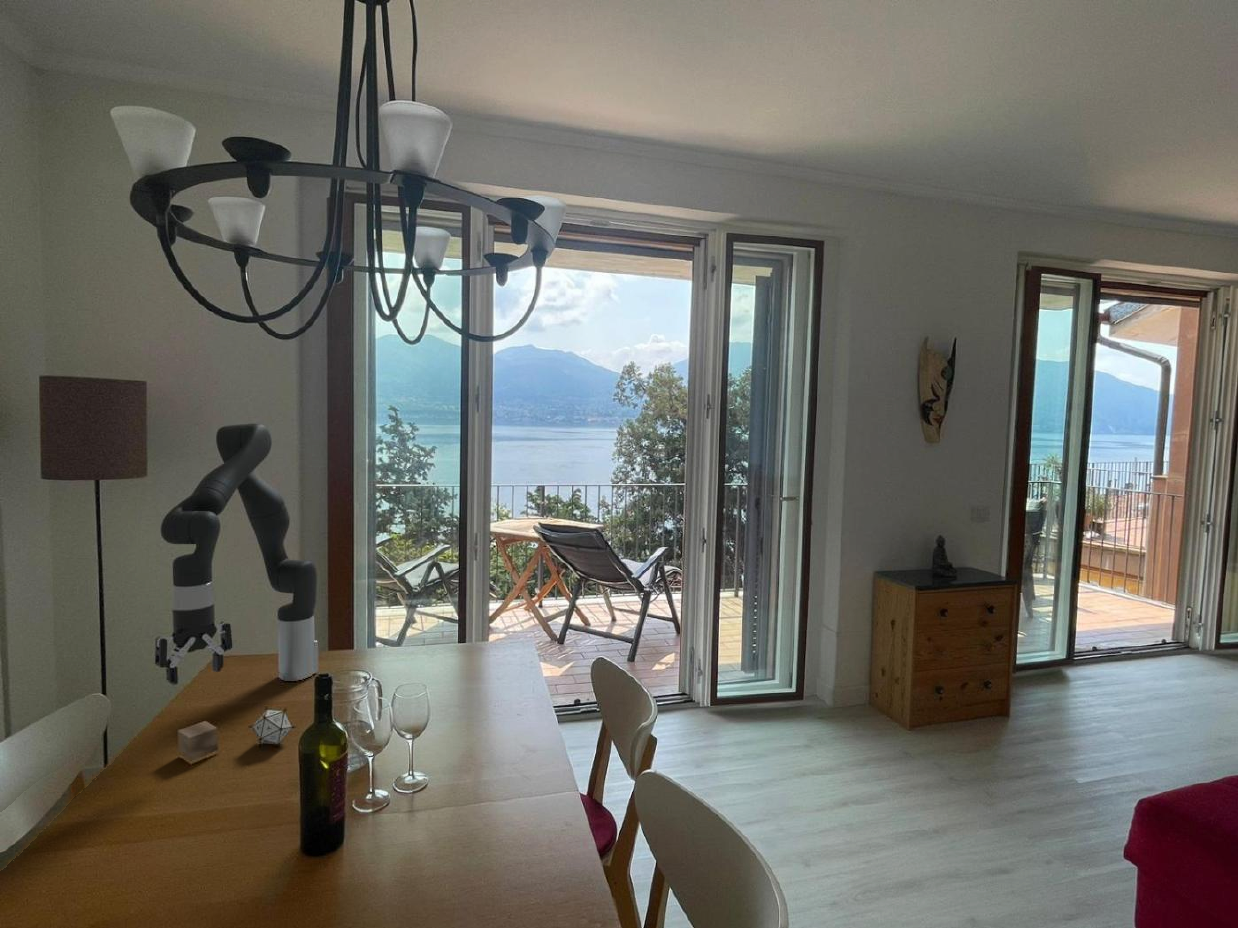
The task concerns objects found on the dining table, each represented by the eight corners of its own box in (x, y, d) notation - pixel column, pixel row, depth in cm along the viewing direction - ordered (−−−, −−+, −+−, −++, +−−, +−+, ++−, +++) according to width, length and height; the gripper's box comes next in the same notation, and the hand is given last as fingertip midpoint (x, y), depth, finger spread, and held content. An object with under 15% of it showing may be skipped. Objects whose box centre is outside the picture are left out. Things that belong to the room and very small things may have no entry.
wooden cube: (206, 746, 147) (205, 720, 146) (218, 754, 144) (217, 727, 143) (178, 757, 142) (177, 730, 142) (190, 765, 139) (189, 737, 139)
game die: (271, 764, 147) (251, 743, 140) (254, 739, 151) (235, 718, 145) (308, 734, 152) (291, 713, 145) (290, 711, 156) (273, 690, 149)
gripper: (220, 593, 148) (222, 663, 150) (147, 608, 137) (150, 683, 138) (236, 599, 144) (238, 670, 145) (163, 614, 132) (166, 692, 134)
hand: (195, 676), depth 142 cm, fingers open, 8 cm apart
